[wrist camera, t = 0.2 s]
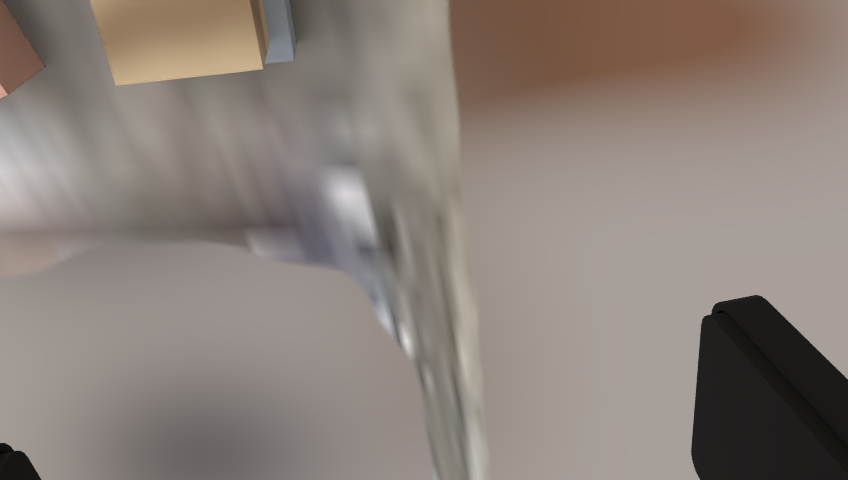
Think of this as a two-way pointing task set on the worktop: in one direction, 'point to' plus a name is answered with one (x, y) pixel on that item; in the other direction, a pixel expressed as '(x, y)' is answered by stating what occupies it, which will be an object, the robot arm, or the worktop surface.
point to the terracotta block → (15, 54)
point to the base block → (280, 31)
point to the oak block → (181, 37)
